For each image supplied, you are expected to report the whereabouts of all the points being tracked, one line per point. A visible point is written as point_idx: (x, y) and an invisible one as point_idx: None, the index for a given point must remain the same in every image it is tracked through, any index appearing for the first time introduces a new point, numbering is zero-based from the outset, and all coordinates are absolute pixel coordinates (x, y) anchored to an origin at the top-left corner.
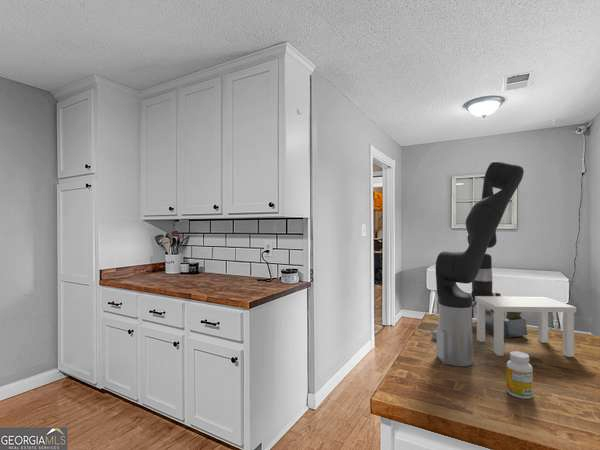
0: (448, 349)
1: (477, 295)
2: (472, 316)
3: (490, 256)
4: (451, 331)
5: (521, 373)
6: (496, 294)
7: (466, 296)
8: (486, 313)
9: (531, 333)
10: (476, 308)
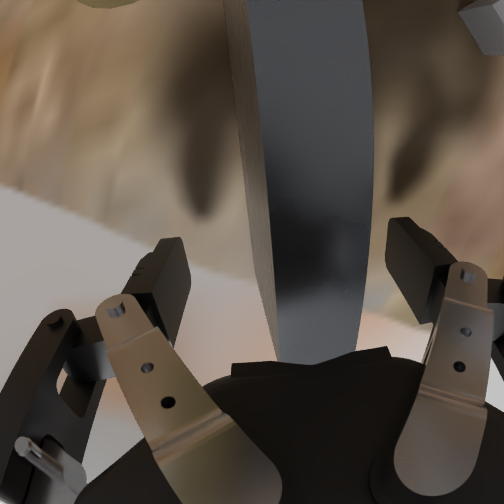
0: None
1: (479, 479)
2: (407, 221)
3: None
4: None
5: None
6: (26, 499)
7: None
8: (359, 12)
9: (9, 27)
10: (354, 333)
